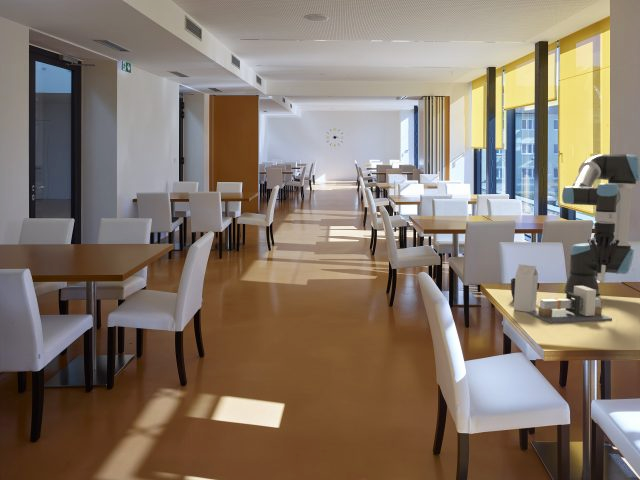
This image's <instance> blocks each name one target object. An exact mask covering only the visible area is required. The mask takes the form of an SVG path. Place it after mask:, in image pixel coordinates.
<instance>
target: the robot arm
mask: <svg viewBox="0 0 640 480" xmlns="http://www.w3.org/2000/svg"><path fill="white" fill-rule="evenodd" d="M597 180H604V181H607V183H598V185H597V186H594V184H595V182H596V181H597ZM639 181H640V158H639V157H638V155H635V154H626V153H624V154H620V153H619V154H616V153H614V154H613V153H612V154H607V153H600V154H596V155H594V156H592V157H589V158H587V159H586V160H584V161H583V162H582V163H581V165H580V166H579V168H578V174H577V176H576V177H575V180H574V182H573V183H572V185H567V186H566V185H565V186H564V187H563V188H562V193H561V194H562V195H561V201H562V202H563V204H567V205H579V206H583V205H584V206H595V216H594V221H595V223H594V229H593V230H594V234H593V237H592V238H590V239H588V240H587V242H581V243H575V244H573V245H572V246H571V250H570V260H569V261H570V262H569V276H568V278H567V279H566V282H565V284H564V292H565V293H567V292H570V293H573V294H574V286H585V287H588V288H591V289H594V290H596V296H598V294H600V288H599V284H598V282H605V280H606V279H605V278H606V274H607V273H608V274H609V273H610V274H617V275H618V274H619V275H620V274H621V275H626V274H628V273H630V270H631V266H632V263H633V260H634V259H633V258H634V253H635V251H634V250H635V249H633V248H631V246H632V245H631V243H630V242H629V240H628V239H629V228H630V215H631V203H632V201H631V200H632V189H633V188H634V187H635V186H636V185H637V182H639Z"/></svg>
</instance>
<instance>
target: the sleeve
mask: <svg viewBox="0 0 640 480" xmlns="http://www.w3.org/2000/svg"><path fill="white" fill-rule="evenodd" d="M574 294H576V295H579V296H580V298H583V308H580V311H579V313H580V314H582V315H585V316H592V315H595V301H596V297H597V295H596V290H594V289H591V288H588V287H585V286H574ZM573 309H574V308H573Z"/></svg>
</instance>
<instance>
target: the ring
mask: <svg viewBox="0 0 640 480" xmlns="http://www.w3.org/2000/svg"><path fill="white" fill-rule="evenodd" d="M565 293H566V297H565V299H567V298H575V305H574V309H573V308H564V310H567V311H569V312H572V313H574V314H579V311H580V296H579V295H576V294H573V293H570V292H565Z"/></svg>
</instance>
